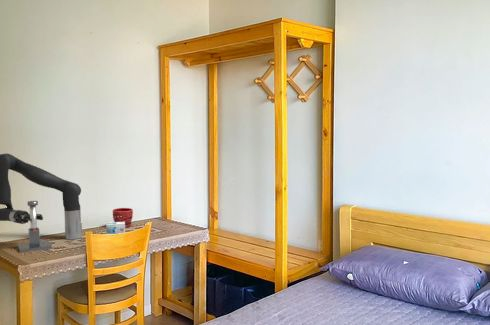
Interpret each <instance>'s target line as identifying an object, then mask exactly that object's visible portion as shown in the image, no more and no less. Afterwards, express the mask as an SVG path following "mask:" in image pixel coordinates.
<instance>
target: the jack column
mask: <svg viewBox="0 0 490 325" xmlns="http://www.w3.org/2000/svg"><path fill="white" fill-rule="evenodd" d="M38 205H39V201H38V200H29V201H27V206H28V207H29V214H30V221H29V223H30V228H31V230H34V229H37V228H38V224H37V223H38V222H37V219H36V214H37V206H38Z"/></svg>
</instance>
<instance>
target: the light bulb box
mask: <svg viewBox="0 0 490 325" xmlns="http://www.w3.org/2000/svg"><path fill="white" fill-rule="evenodd" d="M105 227H106V228H105V230H106V233H105V234H117V233H124V232H125V233H126V228H125V222H114V221H113V222H111V221H110V222H106V226H105Z"/></svg>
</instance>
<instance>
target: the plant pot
mask: <svg viewBox="0 0 490 325" xmlns="http://www.w3.org/2000/svg"><path fill="white" fill-rule="evenodd" d="M133 213H134V210H133V208H132V207H131V208H130V207H119V208H115V209H113V210H112V219H113V222H125V229H126V228H130V227H131V226H132V224H133V223H132V221H133V216H134V215H133Z"/></svg>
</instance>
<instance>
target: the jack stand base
mask: <svg viewBox="0 0 490 325" xmlns="http://www.w3.org/2000/svg"><path fill="white" fill-rule="evenodd" d="M40 238H41V237H40V229H39V227H37V229H34V230H31V227H30V228H28V241H27V242H20V243H17V248H18V251H19V253H28V252H35V251H42V250H48V249H49V250H50V249H53V245H52V244H51V243H50V241H49V240H48V239H46V240H45V239H44V240H40Z"/></svg>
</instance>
